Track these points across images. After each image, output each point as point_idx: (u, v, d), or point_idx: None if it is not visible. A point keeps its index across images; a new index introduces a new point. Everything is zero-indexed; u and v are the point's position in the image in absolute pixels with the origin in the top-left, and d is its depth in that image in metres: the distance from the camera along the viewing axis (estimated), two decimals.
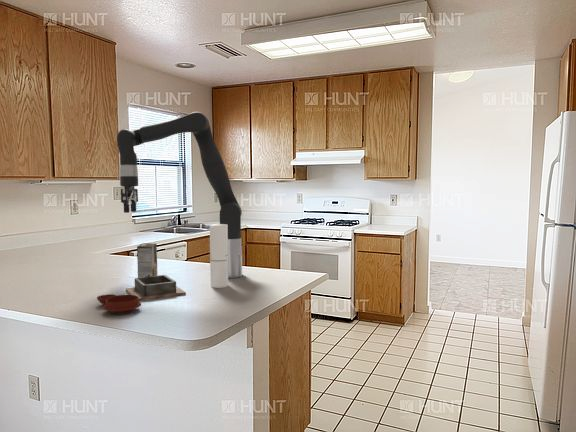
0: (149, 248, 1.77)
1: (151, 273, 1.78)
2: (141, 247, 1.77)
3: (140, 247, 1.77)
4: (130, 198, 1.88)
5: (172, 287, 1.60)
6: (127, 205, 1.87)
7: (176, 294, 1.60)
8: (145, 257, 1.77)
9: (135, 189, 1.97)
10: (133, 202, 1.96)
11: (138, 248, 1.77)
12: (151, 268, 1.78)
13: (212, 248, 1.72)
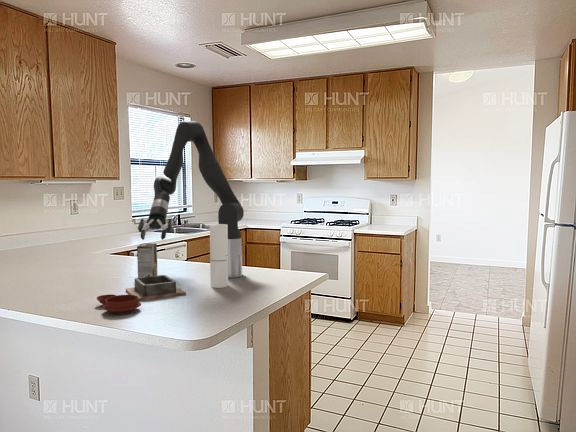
0: (149, 248, 1.77)
1: (151, 273, 1.78)
2: (141, 247, 1.77)
3: (140, 247, 1.77)
4: (145, 225, 1.92)
5: (172, 287, 1.60)
6: (142, 231, 1.91)
7: (176, 294, 1.60)
8: (145, 257, 1.77)
9: (168, 220, 1.95)
10: None
11: (138, 248, 1.77)
12: (151, 268, 1.78)
13: (212, 248, 1.72)
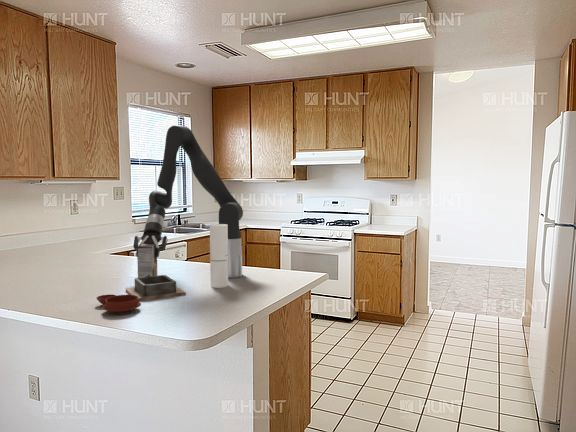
0: (149, 248, 1.77)
1: (151, 273, 1.78)
2: (141, 247, 1.77)
3: (140, 247, 1.77)
4: (141, 242, 1.84)
5: (172, 287, 1.60)
6: None
7: (176, 294, 1.60)
8: (145, 257, 1.77)
9: (164, 237, 1.87)
10: None
11: (138, 248, 1.77)
12: (151, 268, 1.78)
13: (212, 248, 1.72)
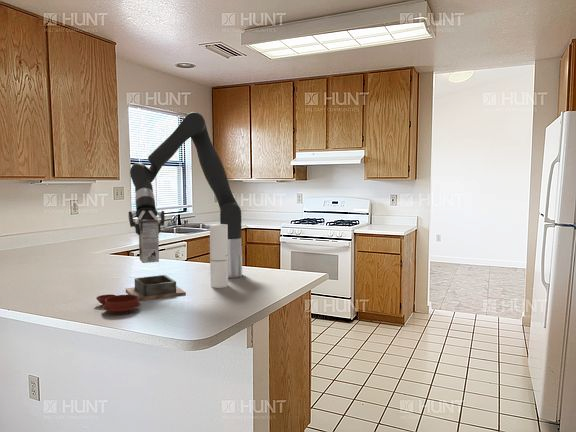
0: (155, 223, 1.65)
1: (157, 249, 1.66)
2: (146, 222, 1.63)
3: (145, 222, 1.63)
4: (138, 218, 1.69)
5: (172, 287, 1.60)
6: (136, 226, 1.67)
7: (176, 294, 1.60)
8: (150, 233, 1.64)
9: (161, 212, 1.75)
10: None
11: (143, 223, 1.63)
12: (157, 244, 1.66)
13: (212, 248, 1.72)
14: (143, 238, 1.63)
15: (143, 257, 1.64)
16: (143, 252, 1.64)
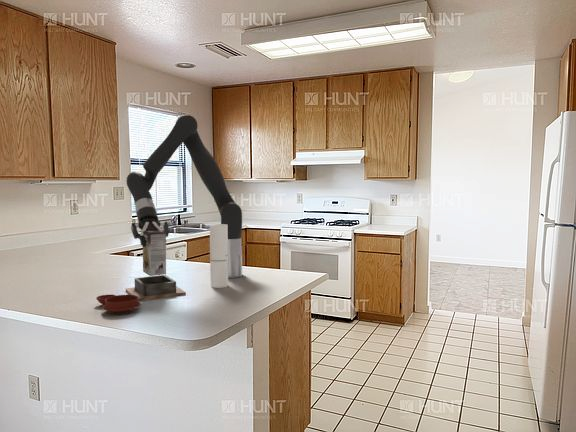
0: (163, 234, 1.61)
1: (164, 262, 1.62)
2: (154, 233, 1.59)
3: (153, 233, 1.59)
4: (143, 229, 1.64)
5: (172, 287, 1.60)
6: (141, 238, 1.62)
7: (176, 294, 1.60)
8: (158, 245, 1.60)
9: (164, 222, 1.71)
10: None
11: (151, 235, 1.58)
12: (164, 256, 1.62)
13: (212, 248, 1.72)
14: (151, 250, 1.59)
15: (151, 270, 1.59)
16: (151, 265, 1.59)
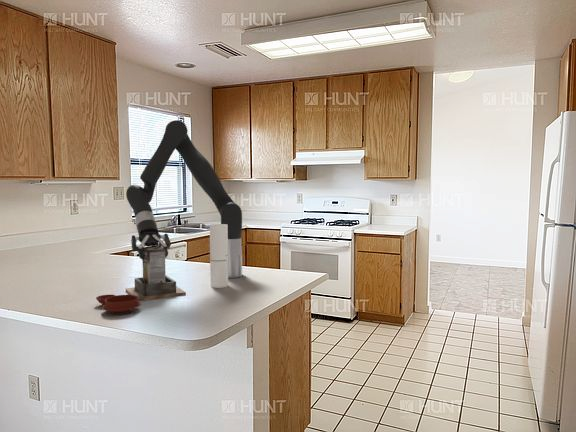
0: (162, 252, 1.61)
1: (164, 279, 1.62)
2: (153, 251, 1.59)
3: (152, 251, 1.59)
4: (142, 242, 1.64)
5: (172, 287, 1.60)
6: (139, 250, 1.62)
7: (176, 294, 1.60)
8: (157, 262, 1.60)
9: None
10: (163, 247, 1.68)
11: (150, 252, 1.59)
12: (164, 273, 1.62)
13: (212, 248, 1.72)
14: (150, 268, 1.59)
15: None
16: (150, 282, 1.59)
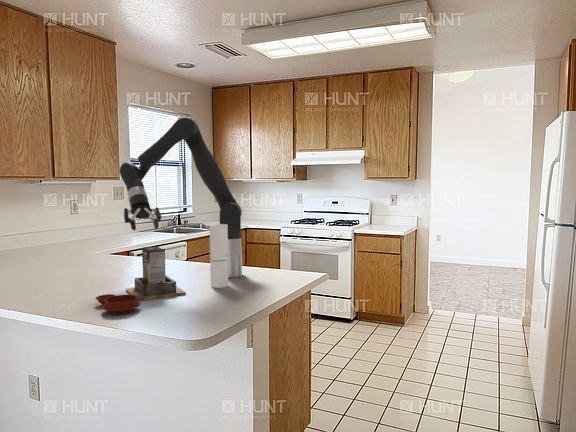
0: (162, 251, 1.61)
1: (164, 279, 1.62)
2: (153, 251, 1.59)
3: (152, 251, 1.59)
4: (134, 215, 1.74)
5: (172, 287, 1.60)
6: (131, 222, 1.72)
7: (176, 294, 1.60)
8: (157, 262, 1.60)
9: (155, 208, 1.82)
10: (154, 220, 1.78)
11: (150, 252, 1.59)
12: (164, 273, 1.62)
13: (212, 248, 1.72)
14: (150, 268, 1.59)
15: None
16: (150, 282, 1.59)
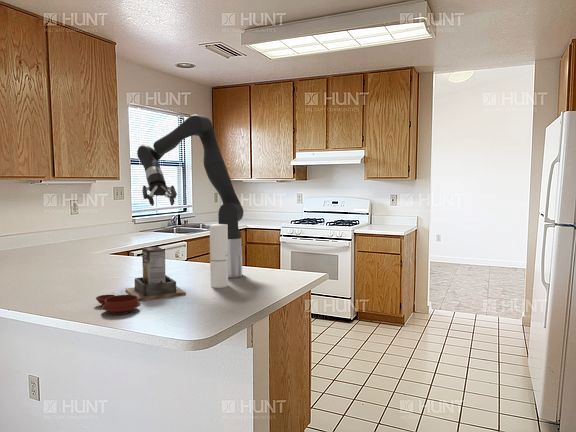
0: (162, 251, 1.61)
1: (164, 279, 1.62)
2: (153, 251, 1.59)
3: (152, 251, 1.59)
4: (152, 191, 1.89)
5: (172, 287, 1.60)
6: (150, 198, 1.88)
7: (176, 294, 1.60)
8: (157, 262, 1.60)
9: None
10: (170, 197, 1.93)
11: (150, 252, 1.59)
12: (164, 273, 1.62)
13: (212, 248, 1.72)
14: (150, 268, 1.59)
15: None
16: (150, 282, 1.59)
